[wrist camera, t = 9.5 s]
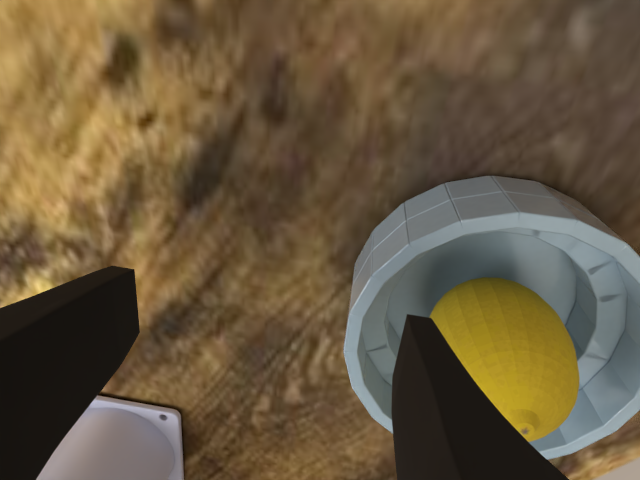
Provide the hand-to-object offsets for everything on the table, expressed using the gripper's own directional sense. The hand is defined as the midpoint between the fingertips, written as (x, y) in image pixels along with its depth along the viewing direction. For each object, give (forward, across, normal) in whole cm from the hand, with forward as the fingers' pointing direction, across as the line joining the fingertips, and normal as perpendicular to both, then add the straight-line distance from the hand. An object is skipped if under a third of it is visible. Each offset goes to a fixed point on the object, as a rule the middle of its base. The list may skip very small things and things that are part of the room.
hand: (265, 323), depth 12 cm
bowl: (+10, -8, +4) cm, 14 cm away
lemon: (+10, -8, +4) cm, 13 cm away
